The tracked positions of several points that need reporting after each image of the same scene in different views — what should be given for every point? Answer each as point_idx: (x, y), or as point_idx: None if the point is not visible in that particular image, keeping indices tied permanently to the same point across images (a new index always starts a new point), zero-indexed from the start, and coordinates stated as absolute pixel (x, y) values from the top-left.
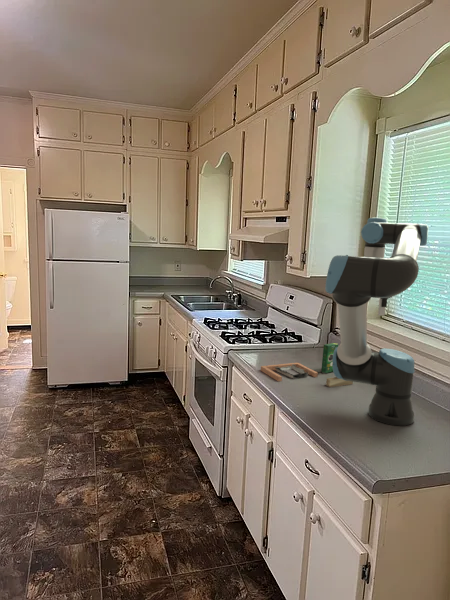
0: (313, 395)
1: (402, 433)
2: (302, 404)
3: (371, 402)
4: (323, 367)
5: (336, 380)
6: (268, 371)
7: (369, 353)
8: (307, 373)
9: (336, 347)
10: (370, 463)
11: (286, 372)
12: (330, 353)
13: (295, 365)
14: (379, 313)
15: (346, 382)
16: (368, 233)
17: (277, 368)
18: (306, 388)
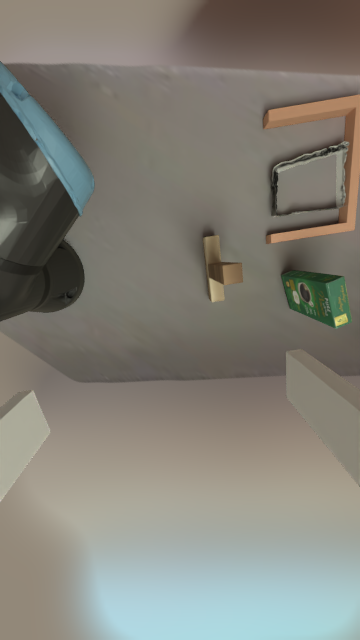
0: (161, 169)
1: None
2: (113, 108)
3: (59, 248)
4: (294, 273)
5: (206, 255)
6: (321, 102)
7: None
8: (275, 215)
9: (1, 68)
10: None
11: (301, 161)
12: (311, 292)
13: (343, 218)
14: (7, 403)
15: (208, 283)
16: None
17: (339, 150)
18: (204, 175)
